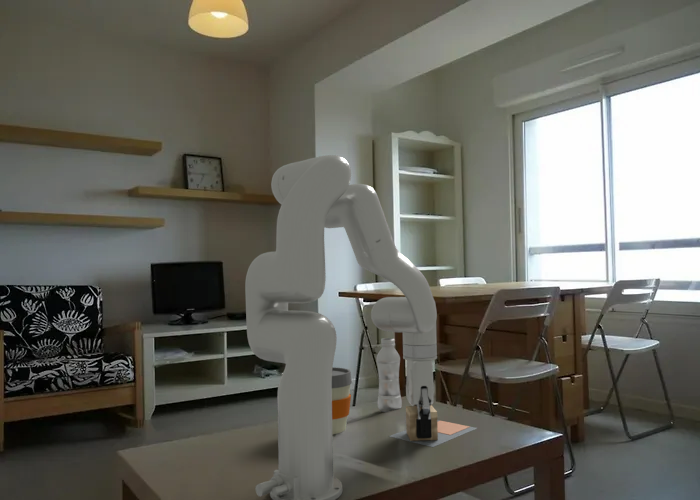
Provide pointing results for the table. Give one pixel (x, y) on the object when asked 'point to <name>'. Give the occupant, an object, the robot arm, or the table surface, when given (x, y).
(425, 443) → the post plate
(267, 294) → the robot arm
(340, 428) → the reusable coffee cup
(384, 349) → the plastic bottle
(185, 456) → the table surface
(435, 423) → the wooden block
